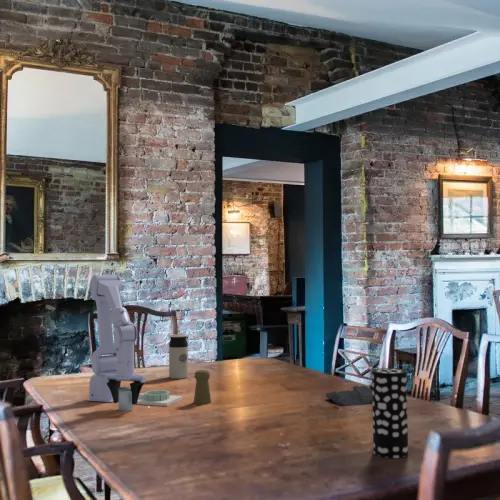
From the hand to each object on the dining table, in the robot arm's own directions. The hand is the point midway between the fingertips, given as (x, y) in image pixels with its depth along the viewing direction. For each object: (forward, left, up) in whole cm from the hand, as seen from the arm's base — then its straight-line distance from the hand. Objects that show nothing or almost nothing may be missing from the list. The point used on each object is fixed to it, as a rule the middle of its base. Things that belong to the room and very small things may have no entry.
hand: (125, 403), depth 199 cm
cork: (+20, +17, -2) cm, 26 cm away
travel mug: (-10, +59, -2) cm, 60 cm away
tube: (0, 0, -2) cm, 2 cm away
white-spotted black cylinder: (+88, -22, -2) cm, 91 cm away
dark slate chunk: (+70, +37, -3) cm, 79 cm away
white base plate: (+2, +14, -2) cm, 14 cm away
